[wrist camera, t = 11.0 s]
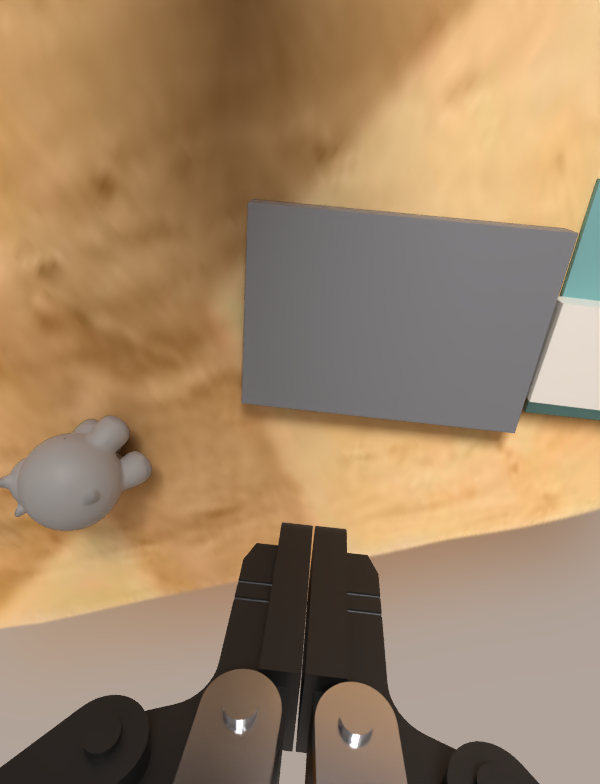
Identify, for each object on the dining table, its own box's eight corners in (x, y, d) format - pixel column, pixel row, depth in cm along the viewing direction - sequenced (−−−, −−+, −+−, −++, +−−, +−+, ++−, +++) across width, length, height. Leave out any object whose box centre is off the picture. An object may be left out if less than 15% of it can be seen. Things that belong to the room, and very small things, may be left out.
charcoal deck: (253, 199, 32) (248, 202, 30) (564, 228, 31) (578, 233, 30) (246, 391, 38) (241, 403, 37) (506, 419, 38) (514, 433, 36)
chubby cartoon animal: (39, 412, 44) (-54, 470, 38) (128, 403, 38) (34, 472, 31) (78, 477, 47) (-3, 541, 40) (168, 480, 40) (88, 557, 34)
